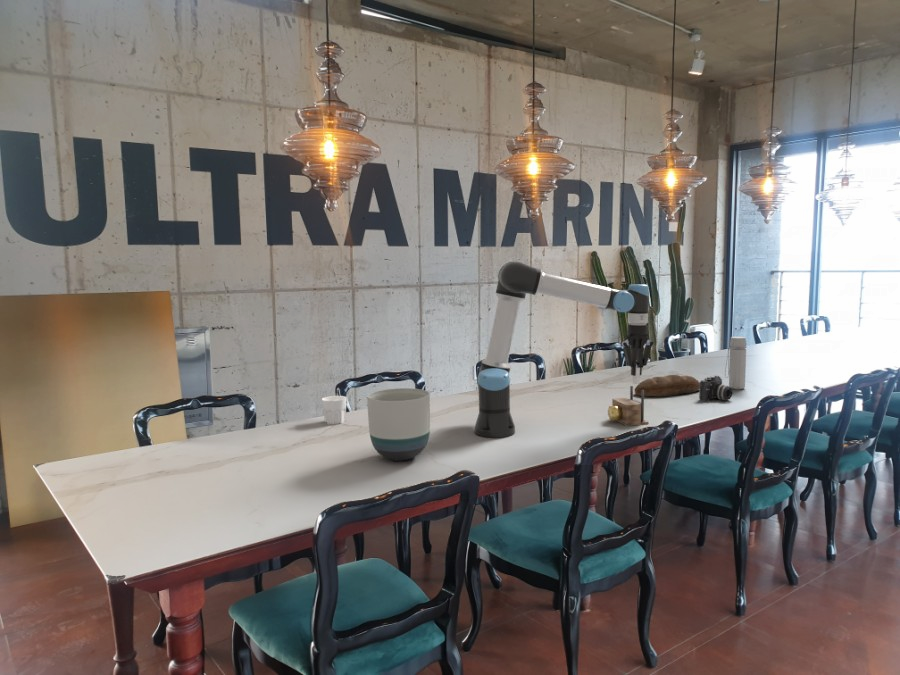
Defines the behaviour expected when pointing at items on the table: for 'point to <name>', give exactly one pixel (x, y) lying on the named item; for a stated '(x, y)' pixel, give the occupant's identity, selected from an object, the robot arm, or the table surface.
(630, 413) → the block
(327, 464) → the table surface
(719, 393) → the camera
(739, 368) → the water bottle
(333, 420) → the cup
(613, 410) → the pin
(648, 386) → the bread
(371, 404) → the planter
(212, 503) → the table surface
